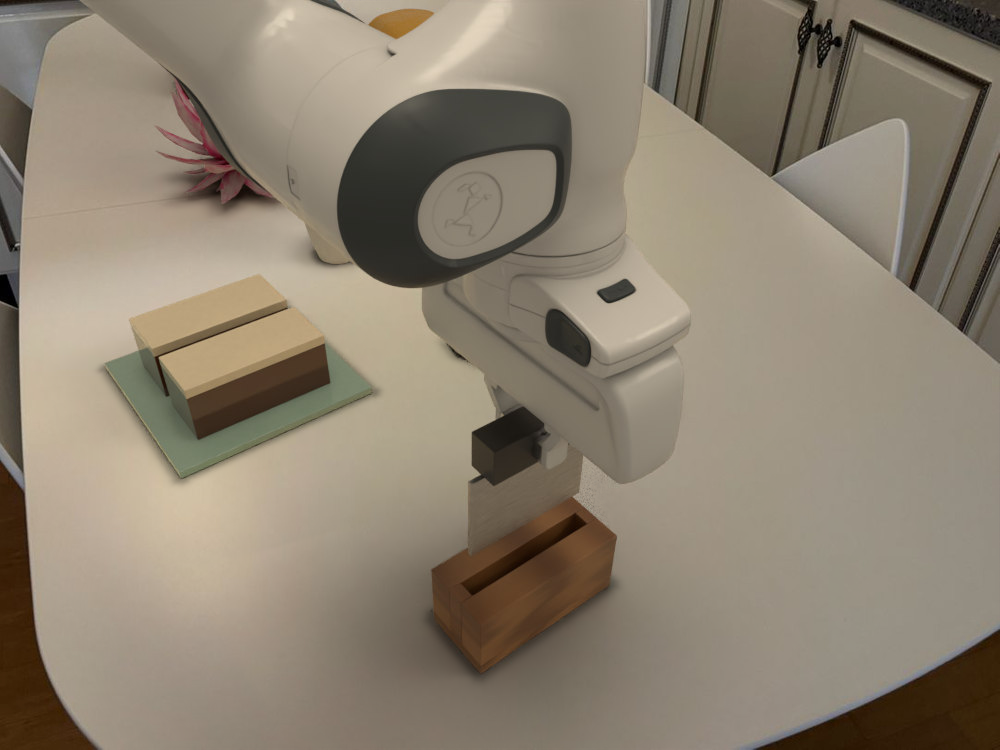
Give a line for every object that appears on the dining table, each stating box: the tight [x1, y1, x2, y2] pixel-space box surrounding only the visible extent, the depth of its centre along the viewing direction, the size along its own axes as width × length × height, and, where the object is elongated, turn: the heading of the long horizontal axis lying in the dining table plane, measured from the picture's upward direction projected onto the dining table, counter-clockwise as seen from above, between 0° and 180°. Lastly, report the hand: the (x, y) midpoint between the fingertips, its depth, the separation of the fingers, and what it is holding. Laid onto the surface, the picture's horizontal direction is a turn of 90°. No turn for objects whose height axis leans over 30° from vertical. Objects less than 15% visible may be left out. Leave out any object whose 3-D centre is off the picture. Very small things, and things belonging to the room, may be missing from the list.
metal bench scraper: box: [467, 406, 584, 556], centre depth 58 cm, size 10×2×10 cm, turn 128°
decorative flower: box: [154, 77, 275, 205], centre depth 118 cm, size 21×21×15 cm
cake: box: [104, 273, 373, 479], centre depth 86 cm, size 20×20×7 cm
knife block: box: [430, 496, 618, 674], centre depth 65 cm, size 13×6×6 cm, turn 128°
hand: (530, 444), depth 56 cm, fingers closed on metal bench scraper, 2 cm apart
